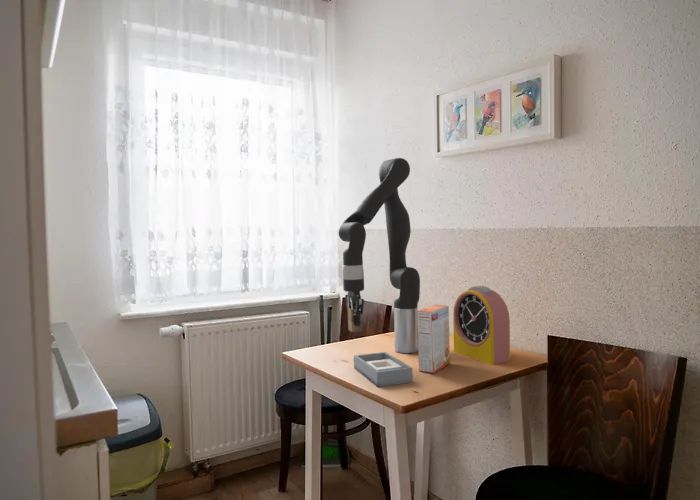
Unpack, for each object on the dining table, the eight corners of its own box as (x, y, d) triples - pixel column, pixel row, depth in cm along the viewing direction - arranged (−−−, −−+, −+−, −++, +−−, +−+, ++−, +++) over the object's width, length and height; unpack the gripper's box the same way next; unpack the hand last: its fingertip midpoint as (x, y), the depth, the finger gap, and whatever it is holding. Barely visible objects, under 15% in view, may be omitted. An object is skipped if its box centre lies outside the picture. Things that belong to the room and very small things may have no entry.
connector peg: (358, 328, 174) (357, 307, 173) (362, 331, 170) (361, 309, 169) (348, 330, 172) (347, 308, 172) (351, 332, 169) (351, 310, 168)
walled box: (385, 364, 168) (385, 351, 168) (412, 381, 148) (412, 367, 148) (354, 368, 164) (353, 355, 164) (377, 386, 144) (376, 372, 144)
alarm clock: (452, 351, 183) (452, 284, 182) (470, 348, 188) (470, 282, 186) (492, 364, 165) (491, 289, 164) (511, 360, 169) (510, 287, 168)
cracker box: (435, 361, 170) (434, 304, 170) (450, 363, 167) (449, 305, 166) (417, 371, 159) (416, 309, 158) (433, 374, 156) (432, 311, 155)
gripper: (370, 278, 165) (371, 327, 165) (356, 275, 178) (358, 320, 179) (350, 280, 162) (351, 329, 163) (337, 276, 176) (339, 321, 176)
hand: (355, 324), depth 171 cm, fingers closed on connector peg, 4 cm apart
